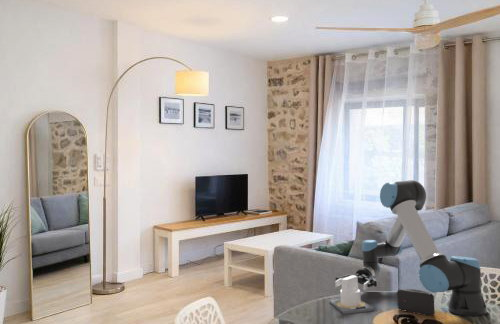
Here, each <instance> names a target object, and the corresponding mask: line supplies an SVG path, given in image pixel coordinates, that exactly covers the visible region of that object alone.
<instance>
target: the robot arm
mask: <svg viewBox="0 0 500 324" xmlns="http://www.w3.org/2000/svg"><path fill="white" fill-rule="evenodd" d="M379 199H380V203H381V205H382V206H383V207H385V208H389V209H390V211H391V212H392V214H393V215H396V219H395V221H394V223H393V225H392V228H391V229H390V231H389V233H388V235H387V237H386V239H385V241H384V242H377V240H375V239H366V240H363V241H362V244H361V249H362V252H361V253H362V267H361V268H359V269H357V271H356V272H355V274H350V273H347V274H344V275H340V276H335V278H334V279H335V281H334V284H335V285H334V286H335V288H338V287H340V286H342V283H341V279H343V278H346V277H349V276H352V275H354V276H357V278H358V284H360V285H363V287H362V288H363V291H366V290H367V289H369V288H371V287H375V288H376V287H378V282H377V279H376V278H377V277H378V276H379V274H380V273H381V270H382V269H381V266H380V264H379V259H380V258H389V257H396V256H399V255H401V254H402V253H403V246H402V245H403V244H402V242H403V241H404V239H405V237H406V236H408V239H409V241H410V242H411V245H412V247H413V248H414V251H415V252H416V254H417V256H418V259H419V260H420V263H419V265H418V266H419V270H418V274H419V276H418V278H419V282H421V285H422V286H423V287H424V288H425V290H427V291H428V292H430V293H431V292H432V293H435V294H436V293H444V292H448V291H451V294H450V298H449V301H448V305H447V306H448V308H447V309H448V311H449V312H451V313H453V314H456V315H460V316H468V317H477V316H478V317H479V316H483V315H486V314H487V313H488V310H487V304H486V301H485V300H484V297H483V295H482V276H481V265H480V261H479V260H478V259H477V258H475V257H468V256H459V255H452V256H450V258H449V260H448V258H447V256H446V254H444V253H441V252H440V250H439V249H438V247H437V245H436V243H435V241H434V240H433V238H432V237H431V234H430V233H429V230H428V228H427V227H426V225H425V224H424V221H423V220H422V218H421V216H420V214H419V211H421V210H423V207H424V206H425V204H426V202H427V201H426V200H427V192H426V189H425V187H424V186H423V185H422V183H420V182H419V181H417V180H412V179H409V180H402V181H400V180H399V181H390V182H389V181H388V182H385V183H384V184H383V185H382V187H381V188H380V192H379Z"/></svg>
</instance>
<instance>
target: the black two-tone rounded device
mask: <svg viewBox="0 0 500 324" xmlns="http://www.w3.org/2000/svg"><path fill="white" fill-rule="evenodd" d="M396 293H397V296H396V297H397V308H398V310H400V309H401V310H406V311H405V312H407V311H410V312H409V313H412V312H415V313H414V314H418V313H420V314H419V315H423V314H425V315H424V316H429V315H433V316H435V312H436V311H435V297H434V295H433V294H432V293H431V292H430V291H425V290H419V289H411V288H399V289H398V290H397V292H396ZM401 310H400V311H401Z"/></svg>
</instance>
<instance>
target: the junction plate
mask: <svg viewBox="0 0 500 324" xmlns="http://www.w3.org/2000/svg"><path fill="white" fill-rule="evenodd" d="M329 303H330V305H332V306H333V307H334V308H336V309H337V310H338V311H340V313H342V314H344V315H348V314H349V315H350V314H358V313H365V312H367V313H368V312H373V311H375V310H374V309H375V307H373V306H371V305H370V304H368V303H367V302H366V301H364V300H362V299H361V304H360V305H359V306H343V305H342V304H341V298H338V299H337V298H336V299H329Z"/></svg>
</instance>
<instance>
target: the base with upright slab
mask: <svg viewBox="0 0 500 324" xmlns="http://www.w3.org/2000/svg"><path fill="white" fill-rule="evenodd" d="M351 275H352V276H351ZM351 275H350V276H349V277H346V278H343V279H341V283H342V284H341V289H340V290H339V291H340V299H341V304H342V305H343V306H359V305H360V304H361V300H362V299H361V289H359V283H358V278H357V276H354V275H355V274H351Z"/></svg>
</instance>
